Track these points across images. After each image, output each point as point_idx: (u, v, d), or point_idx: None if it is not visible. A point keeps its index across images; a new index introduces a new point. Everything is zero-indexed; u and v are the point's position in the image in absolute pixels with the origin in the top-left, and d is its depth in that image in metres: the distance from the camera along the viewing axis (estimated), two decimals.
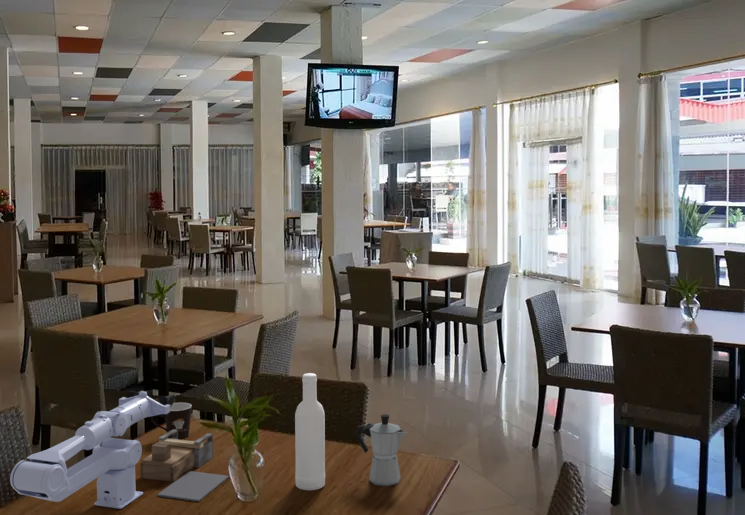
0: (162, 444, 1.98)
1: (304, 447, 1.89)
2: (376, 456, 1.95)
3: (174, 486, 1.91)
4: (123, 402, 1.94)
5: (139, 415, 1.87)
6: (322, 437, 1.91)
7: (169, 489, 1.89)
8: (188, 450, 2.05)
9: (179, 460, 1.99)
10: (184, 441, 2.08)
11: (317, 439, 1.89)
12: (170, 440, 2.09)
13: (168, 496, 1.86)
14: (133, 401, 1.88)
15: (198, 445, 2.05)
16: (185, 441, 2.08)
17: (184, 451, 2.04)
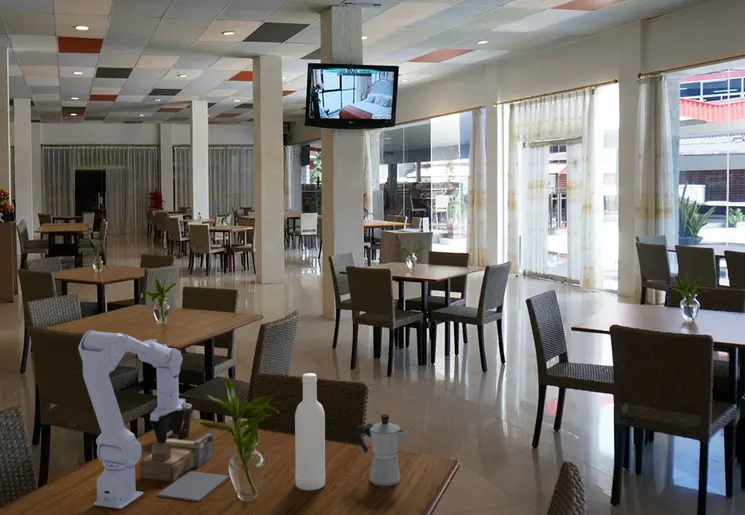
0: (162, 444, 1.98)
1: (304, 447, 1.89)
2: (376, 456, 1.95)
3: (174, 486, 1.91)
4: (180, 400, 2.07)
5: (175, 388, 1.99)
6: (322, 437, 1.91)
7: (169, 489, 1.89)
8: (188, 450, 2.05)
9: (179, 460, 1.99)
10: (184, 441, 2.08)
11: (317, 439, 1.89)
12: (170, 440, 2.09)
13: (168, 496, 1.86)
14: (176, 392, 2.00)
15: (198, 445, 2.05)
16: (185, 441, 2.08)
17: (184, 451, 2.04)
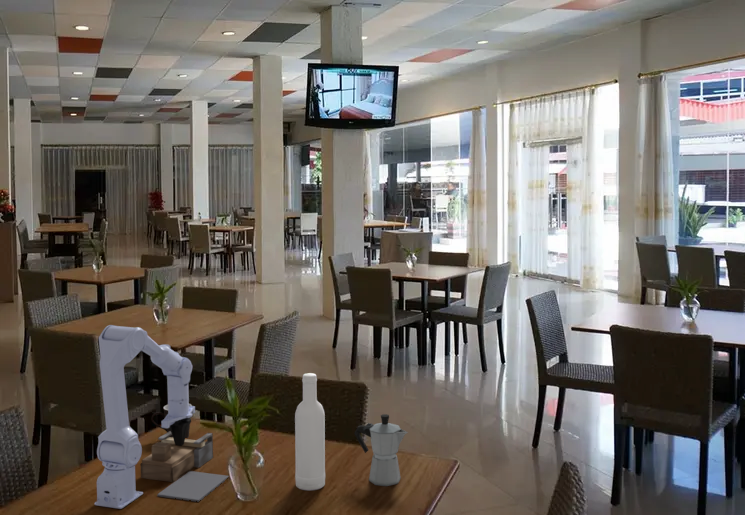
0: (162, 444, 1.98)
1: (304, 447, 1.89)
2: (376, 456, 1.95)
3: (174, 486, 1.91)
4: (190, 408, 2.12)
5: (185, 396, 2.05)
6: (322, 437, 1.91)
7: (169, 489, 1.89)
8: (188, 450, 2.05)
9: (179, 460, 1.99)
10: (186, 440, 2.09)
11: (317, 439, 1.89)
12: (172, 439, 2.10)
13: (168, 496, 1.86)
14: (186, 399, 2.05)
15: (200, 444, 2.06)
16: (187, 440, 2.09)
17: (184, 451, 2.04)
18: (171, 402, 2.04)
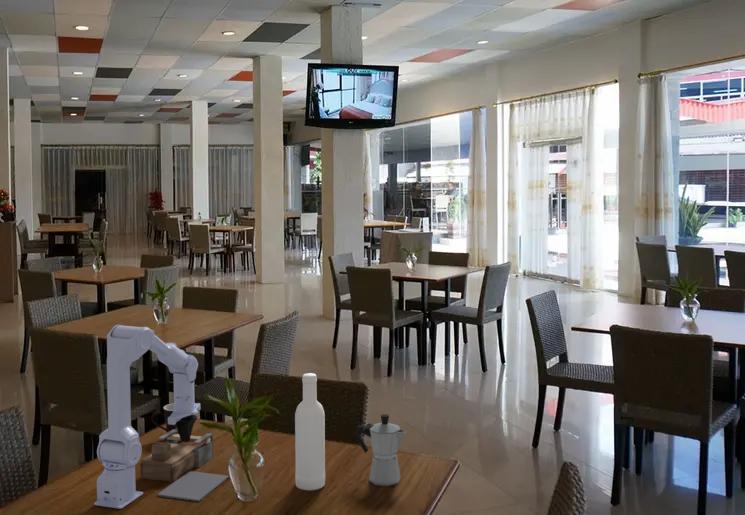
0: (162, 444, 1.98)
1: (304, 447, 1.89)
2: (376, 456, 1.95)
3: (174, 486, 1.91)
4: (195, 405, 2.15)
5: (191, 393, 2.08)
6: (322, 437, 1.91)
7: (169, 489, 1.89)
8: (188, 450, 2.05)
9: (179, 460, 1.99)
10: (191, 436, 2.12)
11: (317, 439, 1.89)
12: (178, 435, 2.13)
13: (168, 496, 1.86)
14: (192, 397, 2.08)
15: (205, 440, 2.09)
16: (193, 436, 2.12)
17: (184, 451, 2.04)
18: (177, 399, 2.07)
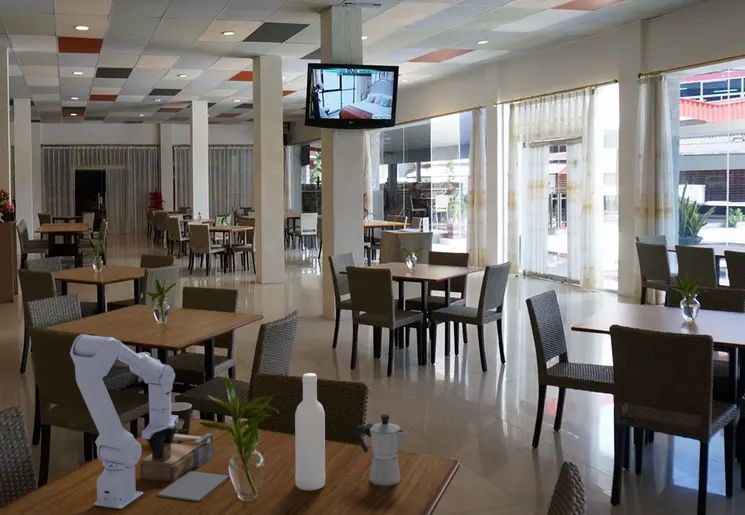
0: None
1: (304, 447, 1.89)
2: (376, 456, 1.95)
3: (174, 486, 1.91)
4: (173, 417, 2.03)
5: (167, 405, 1.96)
6: (322, 437, 1.91)
7: (169, 489, 1.89)
8: (188, 450, 2.05)
9: (179, 460, 1.99)
10: (191, 436, 2.12)
11: (317, 439, 1.89)
12: (178, 435, 2.13)
13: (168, 496, 1.86)
14: (168, 409, 1.96)
15: (205, 440, 2.09)
16: (193, 436, 2.12)
17: (184, 451, 2.04)
18: (152, 411, 1.95)
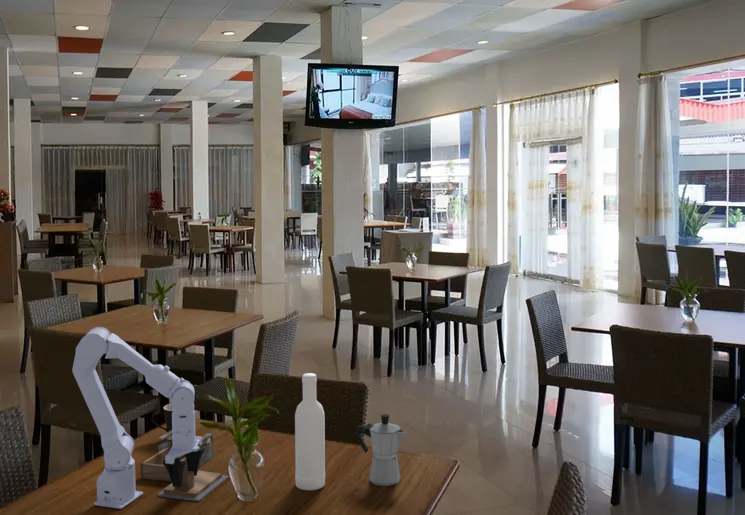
0: (185, 472, 1.88)
1: (304, 446, 1.89)
2: (376, 456, 1.95)
3: None
4: (196, 439, 1.93)
5: (181, 429, 1.84)
6: (322, 437, 1.91)
7: None
8: (212, 478, 1.94)
9: (203, 489, 1.88)
10: None
11: (317, 439, 1.89)
12: None
13: (168, 496, 1.86)
14: (193, 431, 1.85)
15: (205, 440, 2.09)
16: None
17: (207, 479, 1.93)
18: (176, 434, 1.84)
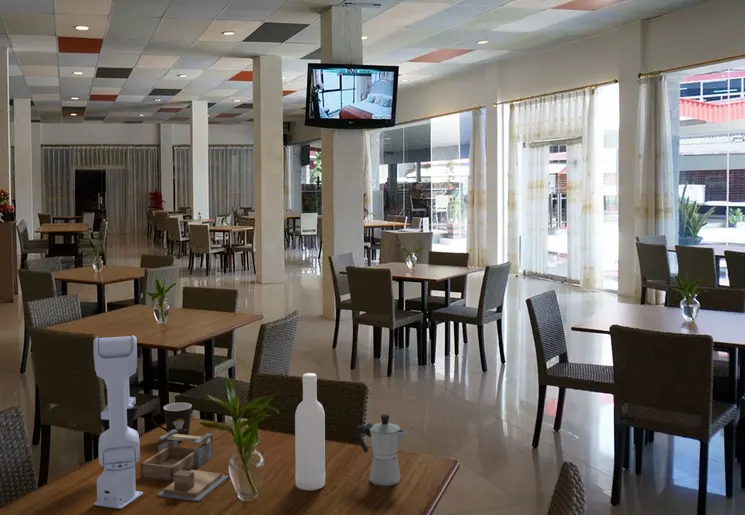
0: (185, 472, 1.88)
1: (304, 446, 1.89)
2: (376, 456, 1.95)
3: None
4: (130, 399, 2.05)
5: (128, 385, 1.99)
6: (322, 437, 1.91)
7: None
8: (212, 478, 1.94)
9: (203, 489, 1.88)
10: (191, 436, 2.12)
11: (317, 439, 1.89)
12: (178, 435, 2.13)
13: (168, 496, 1.86)
14: (127, 390, 1.98)
15: (205, 440, 2.09)
16: (193, 436, 2.12)
17: (207, 479, 1.93)
18: None
